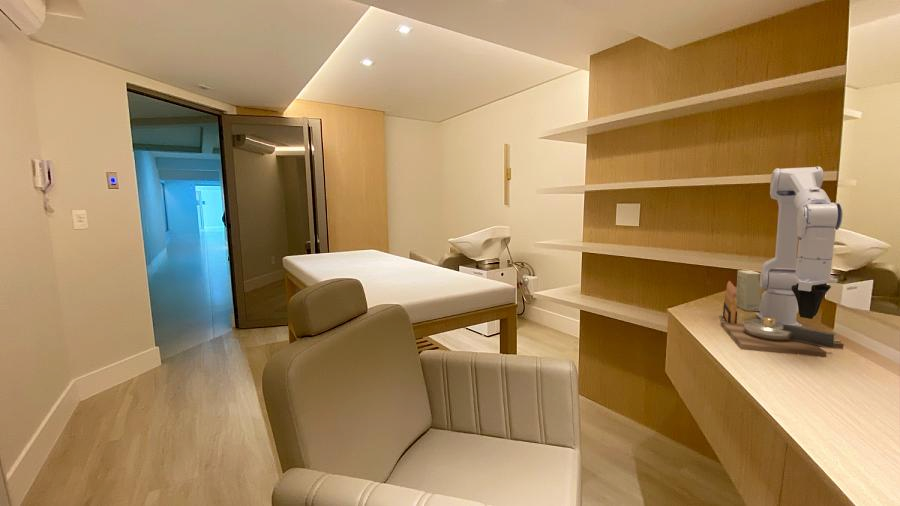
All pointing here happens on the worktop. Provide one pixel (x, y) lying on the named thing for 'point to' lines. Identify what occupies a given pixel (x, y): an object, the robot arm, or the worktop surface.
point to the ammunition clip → (730, 304)
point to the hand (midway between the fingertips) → (807, 316)
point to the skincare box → (748, 290)
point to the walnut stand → (774, 342)
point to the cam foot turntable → (787, 332)
